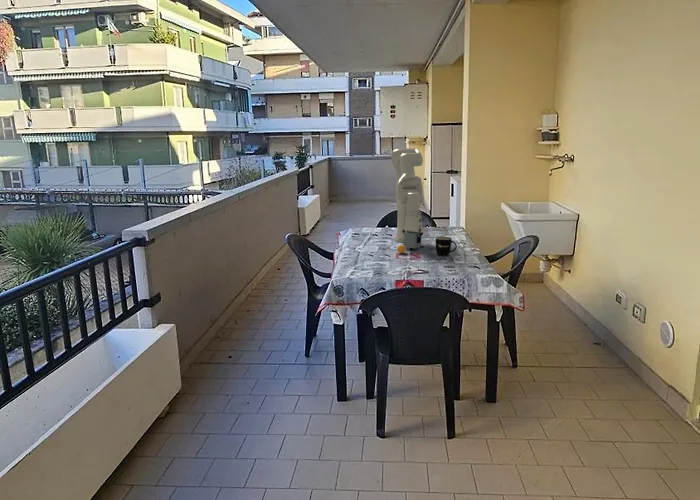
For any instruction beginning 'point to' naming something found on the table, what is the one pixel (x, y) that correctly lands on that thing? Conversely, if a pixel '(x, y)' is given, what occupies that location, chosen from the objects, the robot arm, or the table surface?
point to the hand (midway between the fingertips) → (412, 241)
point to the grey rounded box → (411, 240)
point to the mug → (444, 245)
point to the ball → (401, 249)
